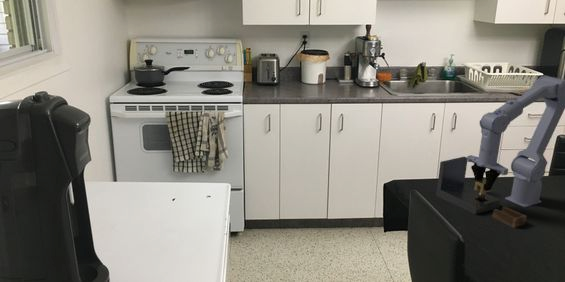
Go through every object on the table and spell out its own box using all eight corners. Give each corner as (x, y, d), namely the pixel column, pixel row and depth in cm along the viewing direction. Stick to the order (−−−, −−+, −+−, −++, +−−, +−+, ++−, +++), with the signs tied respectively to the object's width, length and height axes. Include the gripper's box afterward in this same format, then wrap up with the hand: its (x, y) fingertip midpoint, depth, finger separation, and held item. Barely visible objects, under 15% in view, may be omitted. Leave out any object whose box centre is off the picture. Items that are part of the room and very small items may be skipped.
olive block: (481, 194, 166) (484, 178, 164) (489, 198, 163) (492, 181, 161) (473, 197, 164) (475, 180, 162) (480, 200, 161) (483, 184, 159)
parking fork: (503, 214, 160) (504, 206, 159) (525, 224, 154) (526, 216, 153) (492, 217, 158) (493, 209, 157) (514, 228, 151) (515, 219, 150)
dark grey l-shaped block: (459, 189, 179) (464, 156, 175) (499, 207, 165) (505, 172, 161) (436, 195, 173) (440, 161, 169) (475, 215, 159) (480, 178, 155)
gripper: (463, 144, 162) (457, 182, 166) (500, 158, 150) (493, 198, 155) (477, 142, 166) (471, 178, 170) (515, 154, 154) (508, 194, 158)
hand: (483, 188), depth 162 cm, fingers closed on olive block, 3 cm apart
